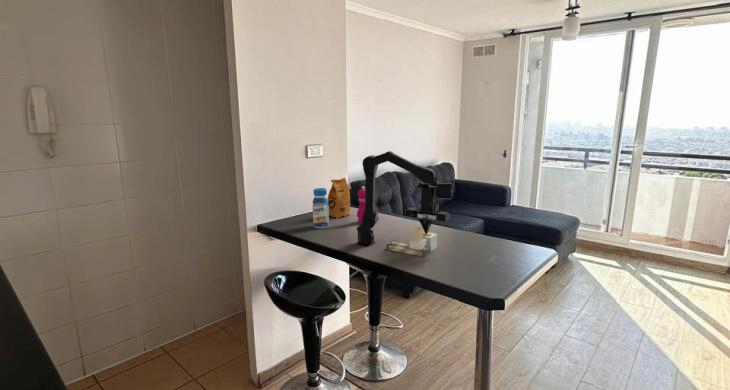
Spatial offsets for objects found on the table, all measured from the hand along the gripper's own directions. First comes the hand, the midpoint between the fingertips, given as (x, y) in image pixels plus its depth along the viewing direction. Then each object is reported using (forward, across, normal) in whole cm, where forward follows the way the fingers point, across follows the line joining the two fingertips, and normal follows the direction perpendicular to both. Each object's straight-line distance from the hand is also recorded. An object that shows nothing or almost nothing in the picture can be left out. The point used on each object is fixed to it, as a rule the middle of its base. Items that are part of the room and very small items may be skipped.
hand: (426, 233), depth 168 cm
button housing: (+6, 0, 0) cm, 6 cm away
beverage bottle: (+7, +61, -4) cm, 61 cm away
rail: (+6, +5, +8) cm, 11 cm away
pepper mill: (+7, +46, -22) cm, 51 cm away
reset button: (+5, 0, 0) cm, 5 cm away
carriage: (+4, 0, +8) cm, 8 cm away
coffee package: (+7, +66, -27) cm, 71 cm away
